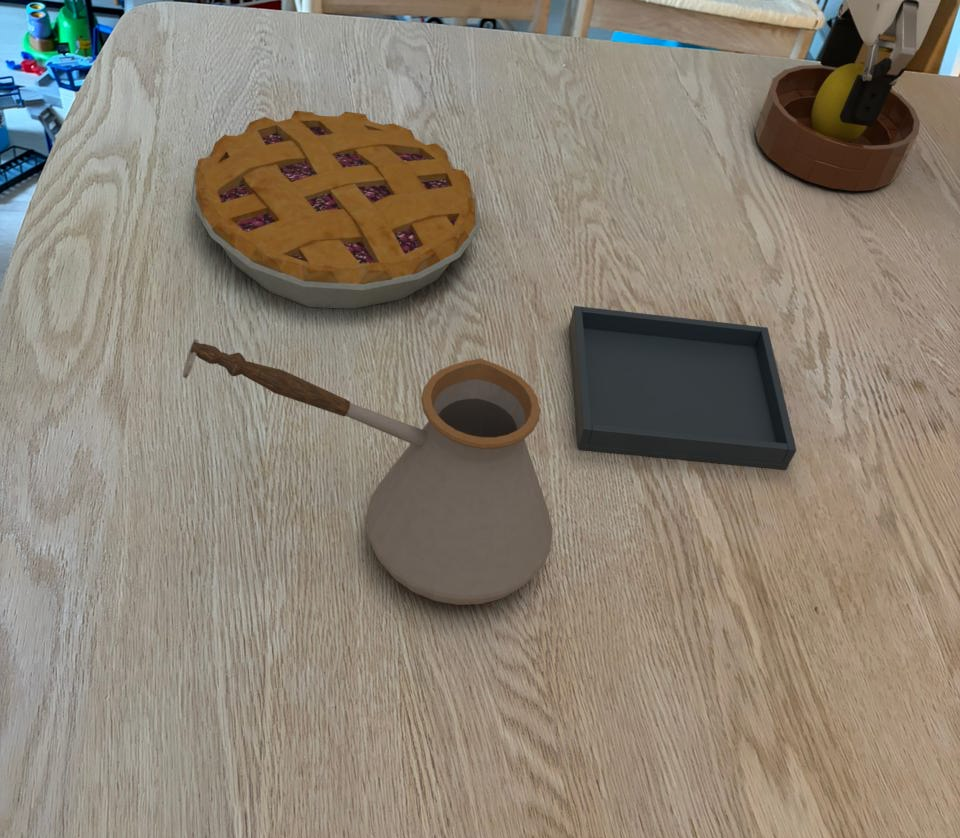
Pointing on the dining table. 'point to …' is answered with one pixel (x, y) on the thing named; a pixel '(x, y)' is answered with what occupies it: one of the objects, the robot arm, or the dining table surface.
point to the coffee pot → (445, 479)
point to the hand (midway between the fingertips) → (845, 93)
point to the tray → (678, 389)
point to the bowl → (825, 158)
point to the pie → (335, 208)
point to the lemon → (836, 104)
